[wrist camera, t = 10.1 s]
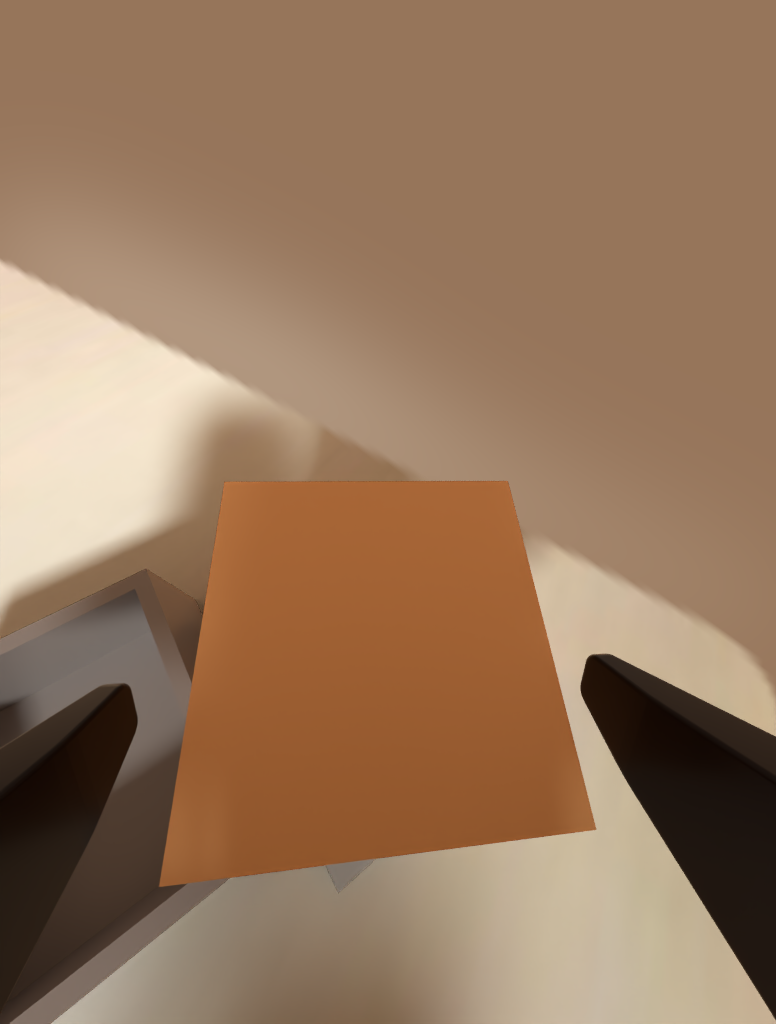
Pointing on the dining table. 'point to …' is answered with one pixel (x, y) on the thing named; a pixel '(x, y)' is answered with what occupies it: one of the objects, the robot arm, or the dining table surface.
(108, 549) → the dining table surface
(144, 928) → the parts bin
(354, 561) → the orange box
